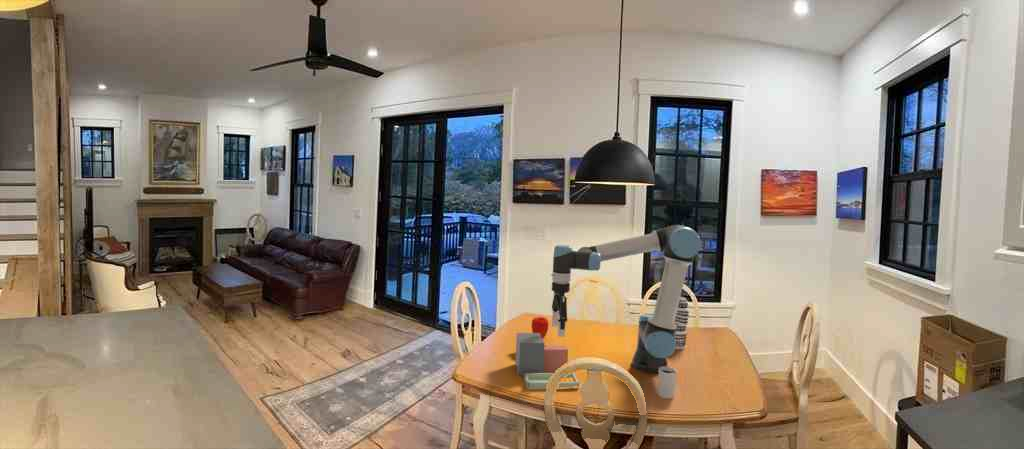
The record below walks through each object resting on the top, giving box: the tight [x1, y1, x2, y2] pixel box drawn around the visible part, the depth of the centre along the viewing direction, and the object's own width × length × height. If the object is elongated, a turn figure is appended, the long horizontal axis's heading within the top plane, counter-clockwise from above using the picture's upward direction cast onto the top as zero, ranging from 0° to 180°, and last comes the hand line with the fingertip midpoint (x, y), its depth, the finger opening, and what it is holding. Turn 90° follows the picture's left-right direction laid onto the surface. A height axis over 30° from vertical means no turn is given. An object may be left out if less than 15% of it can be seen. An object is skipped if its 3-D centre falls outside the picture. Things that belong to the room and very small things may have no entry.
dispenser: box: [515, 332, 546, 377], centre depth 195 cm, size 11×12×14 cm
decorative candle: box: [674, 296, 690, 350], centre depth 233 cm, size 9×9×25 cm
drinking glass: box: [657, 366, 677, 400], centre depth 177 cm, size 7×7×10 cm
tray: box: [523, 372, 580, 390], centre depth 182 cm, size 20×9×3 cm, turn 96°
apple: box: [531, 316, 550, 339], centre depth 236 cm, size 9×9×11 cm
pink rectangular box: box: [543, 344, 569, 373], centre depth 196 cm, size 16×5×10 cm, turn 96°
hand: (558, 331), depth 195 cm, fingers open, 13 cm apart
